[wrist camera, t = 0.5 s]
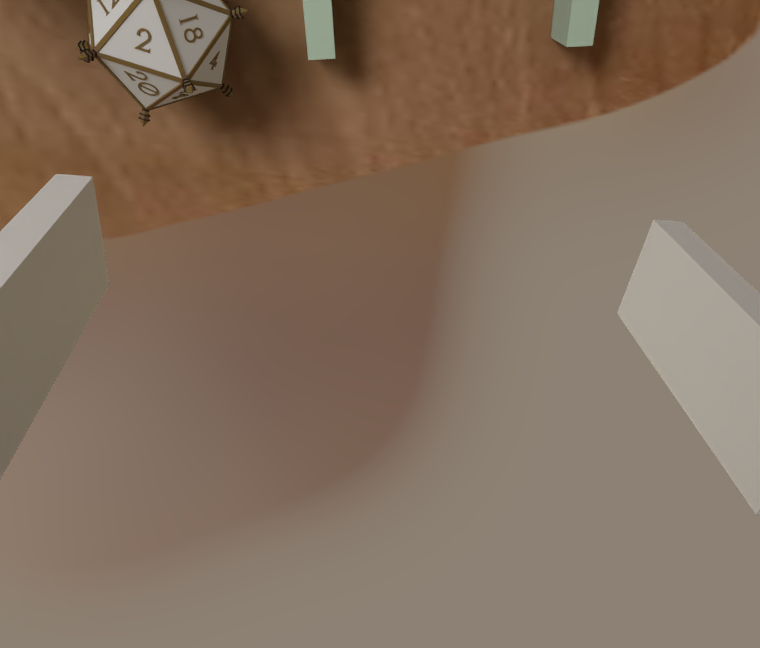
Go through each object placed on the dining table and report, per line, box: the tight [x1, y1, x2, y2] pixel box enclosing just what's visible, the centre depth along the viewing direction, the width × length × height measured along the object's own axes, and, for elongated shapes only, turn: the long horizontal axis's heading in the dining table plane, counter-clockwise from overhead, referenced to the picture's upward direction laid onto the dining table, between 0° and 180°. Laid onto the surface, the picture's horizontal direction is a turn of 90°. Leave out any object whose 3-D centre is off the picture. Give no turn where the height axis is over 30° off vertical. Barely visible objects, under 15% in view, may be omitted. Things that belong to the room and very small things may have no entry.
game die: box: [76, 0, 249, 126], centre depth 32 cm, size 9×8×10 cm
